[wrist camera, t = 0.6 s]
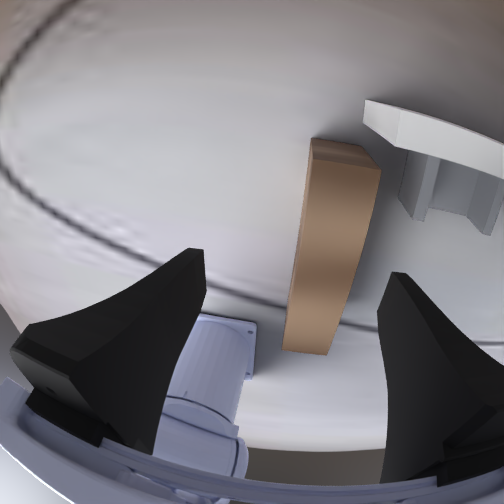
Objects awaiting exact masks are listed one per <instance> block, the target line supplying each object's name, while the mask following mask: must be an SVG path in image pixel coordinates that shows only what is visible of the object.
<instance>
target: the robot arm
mask: <svg viewBox="0 0 504 504" xmlns="http://www.w3.org/2000/svg"><path fill="white" fill-rule="evenodd" d="M206 292H207V289H206V277H205V264H204V250H203V249H195V248H187V249H186V250H184V251H183V252H181V253H180V254H178V255H177V256H175V257H174V258H172V259H171V260H170V261H168V262H167V263H165V264H164V265H162V266H161V267H159V268H158V269H157V270H155V271H154V272H152V273H151V274H149V275H147V276H146V277H144V278H143V279H141V280H140V281H138V282H136V283H135V284H133V285H132V286H130V287H128V288H127V289H125V290H123V291H121V292H119V293H117V294H115V295H113V296H111V297H110V298H107V299H105V300H103V301H101V302H99V303H96V304H94V305H92V306H89V307H87V308H85V309H82V310H79V311H76V312H74V313H71V314H68V315H65V316H61V317H58V318H54V319H50V320H46V321H42V322H38V323H33V324H29V325H28V326H27V327H26V329H25V330H24V331H23V332H22V334H21V335H20V336H19V338H18V339H17V340H16V342H15V343H14V344H13V346H12V347H11V348H10V354H11V357H12V359H13V361H14V363H15V364H16V365H17V367H18V368H19V370H20V371H21V372H22V373H23V375H24V376H25V377H26V378H27V379H28V381H29V382H30V383H31V384H32V385H33V387H34V389H33V391H32V393H30V392H29V391H28V390H26V389H25V388H24V387H22V386H21V385H19V384H18V383H16V382H15V381H14V380H12V379H11V378H9V377H6V378H5V379H4V381H3V382H2V384H1V385H0V446H1V447H2V448H3V449H4V450H5V451H6V452H7V453H8V454H9V455H10V456H11V457H12V458H14V459H15V460H16V461H17V462H18V463H19V464H20V465H22V466H23V467H24V468H25V469H26V470H27V471H28V472H30V473H31V474H32V475H33V476H35V477H36V478H37V479H38V480H40V481H41V482H42V483H44V484H45V485H46V486H47V487H49V488H50V489H52V490H53V491H54V492H56V493H57V494H58V495H60V496H61V497H63V498H64V499H66V500H68V501H69V502H70V503H72V504H228V503H229V501H230V500H235V501H241V502H247V503H254V504H393V503H396V504H504V366H503V365H502V364H500V363H499V362H497V361H496V360H495V359H493V358H492V357H491V356H489V355H488V354H487V353H486V352H484V351H483V350H482V349H480V348H479V347H478V346H477V345H476V344H474V343H473V342H472V341H471V340H470V339H469V338H468V337H467V336H466V335H464V334H463V333H462V332H461V331H460V330H459V329H458V328H457V327H456V326H455V325H454V324H453V323H452V322H451V321H450V320H449V319H448V318H447V317H446V316H445V315H444V313H443V312H442V311H441V310H440V309H439V308H438V307H437V306H436V305H435V304H434V303H433V301H432V300H431V299H430V298H429V297H428V296H427V295H426V294H425V292H424V291H423V290H422V289H421V288H420V287H419V286H418V285H417V284H416V283H415V282H414V281H413V279H412V278H411V277H409V276H408V275H407V274H406V273H399V272H392V273H391V276H390V279H389V281H388V284H387V287H386V290H385V292H384V295H383V298H382V300H381V303H380V305H379V308H378V310H377V318H378V333H379V339H380V345H381V350H382V356H383V361H384V367H385V373H386V380H387V389H388V425H387V440H386V450H385V457H384V463H383V469H382V475H381V479H380V484H373V485H358V486H357V485H356V486H309V485H292V484H280V483H271V482H263V481H255V480H248V479H244V477H245V474H246V470H247V465H248V449H247V447H246V445H245V442H244V440H243V439H242V438H240V437H237V434H238V430H239V426H237V425H234V424H233V423H234V419H235V415H236V411H237V407H238V403H239V399H240V394H241V390H242V386H243V382H244V380H252V377H253V367H254V355H255V343H256V331H257V325H256V324H255V323H253V322H247V321H241V320H235V319H229V318H223V317H217V316H211V315H206V314H200V311H201V308H202V305H203V302H204V298H205V295H206ZM250 330H251V331H250Z"/></svg>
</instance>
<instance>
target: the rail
mask: <svg viewBox="0 0 504 504" xmlns="http://www.w3.org/2000/svg"><path fill="white" fill-rule="evenodd" d="M381 172H382V170H381V169H380V168H379V167H378V165H377V164H376V163H375V162H374V160H373V159H372V158H371V157H370V156H369V154H368V153H367V152H366V151H365V150H364V148H363V147H362V146H358V145H353V144H347V143H341V142H335V141H329V140H322V139H315V138H311V142H310V151H309V160H308V168H307V176H306V184H305V191H304V199H303V206H302V213H301V220H300V227H299V234H298V241H297V247H296V254H295V260H294V266H293V273H292V279H291V285H290V291H289V296H288V303H287V312H286V320H285V328H284V335H283V343H282V350H285V351H292V352H300V353H309V354H317V355H327V353H328V351H329V348H330V346H331V343H332V340H333V338H334V335H335V332H336V330H337V327H338V324H339V321H340V318H341V316H342V313H343V310H344V307H345V304H346V301H347V298H348V295H349V292H350V289H351V286H352V283H353V280H354V276H355V273H356V270H357V267H358V263H359V260H360V256H361V253H362V249H363V246H364V242H365V239H366V235H367V231H368V227H369V224H370V220H371V216H372V212H373V208H374V203H375V199H376V195H377V190H378V186H379V181H380V177H381Z"/></svg>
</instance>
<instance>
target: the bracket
mask: <svg viewBox="0 0 504 504" xmlns="http://www.w3.org/2000/svg"><path fill="white" fill-rule="evenodd" d="M363 123H364V124H365V125H367V126H368V127H369V128H371V129H372V130H374V131H375V132H376V133H378V134H379V135H381V136H382V137H383V138H385V139H386V140H387V141H389V142H390V143H391V144H393V145H394V146H395V147H400V148H404V149H408V155H407V160H406V165H405V170H404V175H403V179H402V183H401V188H400V192H399V196H398V199H399V200H400V202H401V203H402V205H403V206H404V208H405V209H406V211H407V212H408V214H409V215H410V217H411V218H412V219H413V220H419V221H424V219H425V216H426V212H427V209H428V207H429V208H434V209H438V210H443V211H447V212H452V213H456V214H460V215H464V216H467V218H468V219H469V220H470V221H471V222H472V223H473V224H474V225H475V226H476V228H477V229H478V230H479V231H480V232H481V233H482V234H484V235H489V236H490V235H491V232H492V230H493V227H494V224H495V222H496V219H497V216H498V213H499V210H500V207H501V204H502V201H503V198H504V144H503V143H501V142H499V141H497V140H494V139H492V138H490V137H487V136H485V135H482V134H480V133H478V132H475V131H472V130H470V129H467V128H465V127H462V126H459V125H456V124H453V123H451V122H448V121H445V120H442V119H439V118H435V117H432V116H429V115H426V114H422V113H419V112H415V111H412V110H408V109H404V108H400V107H396V106H392V105H388V104H384V103H379V102H375V101H370V100H365V108H364V116H363Z"/></svg>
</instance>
